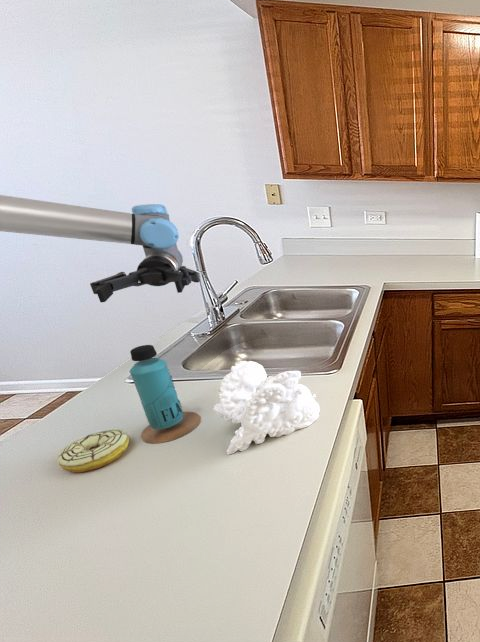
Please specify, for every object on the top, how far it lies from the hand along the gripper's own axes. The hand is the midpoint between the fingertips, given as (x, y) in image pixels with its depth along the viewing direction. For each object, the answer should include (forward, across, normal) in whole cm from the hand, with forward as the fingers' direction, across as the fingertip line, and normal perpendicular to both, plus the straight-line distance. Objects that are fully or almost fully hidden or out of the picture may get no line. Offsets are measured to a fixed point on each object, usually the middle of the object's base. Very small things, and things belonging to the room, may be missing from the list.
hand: (140, 291), depth 87 cm
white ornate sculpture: (+21, -20, -30) cm, 42 cm away
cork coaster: (+10, 0, -30) cm, 32 cm away
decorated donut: (+14, +12, -30) cm, 35 cm away
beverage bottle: (+10, 0, -30) cm, 31 cm away
